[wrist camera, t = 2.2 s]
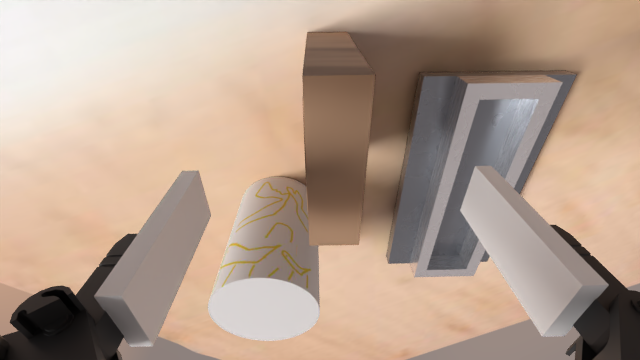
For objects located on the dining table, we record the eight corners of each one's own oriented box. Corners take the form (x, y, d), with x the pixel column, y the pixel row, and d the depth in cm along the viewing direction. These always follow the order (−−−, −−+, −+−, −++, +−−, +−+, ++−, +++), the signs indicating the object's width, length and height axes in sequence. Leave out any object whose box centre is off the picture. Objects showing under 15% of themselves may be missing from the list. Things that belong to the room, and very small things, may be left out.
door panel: (305, 32, 22) (300, 76, 12) (348, 31, 22) (378, 74, 12) (309, 150, 27) (307, 245, 18) (343, 149, 27) (360, 244, 18)
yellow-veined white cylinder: (319, 178, 29) (323, 279, 19) (315, 235, 34) (316, 341, 24) (238, 174, 29) (199, 276, 19) (244, 233, 33) (216, 340, 24)
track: (419, 72, 24) (432, 84, 21) (565, 70, 24) (597, 81, 21) (386, 255, 36) (391, 277, 33) (482, 253, 36) (495, 275, 34)
